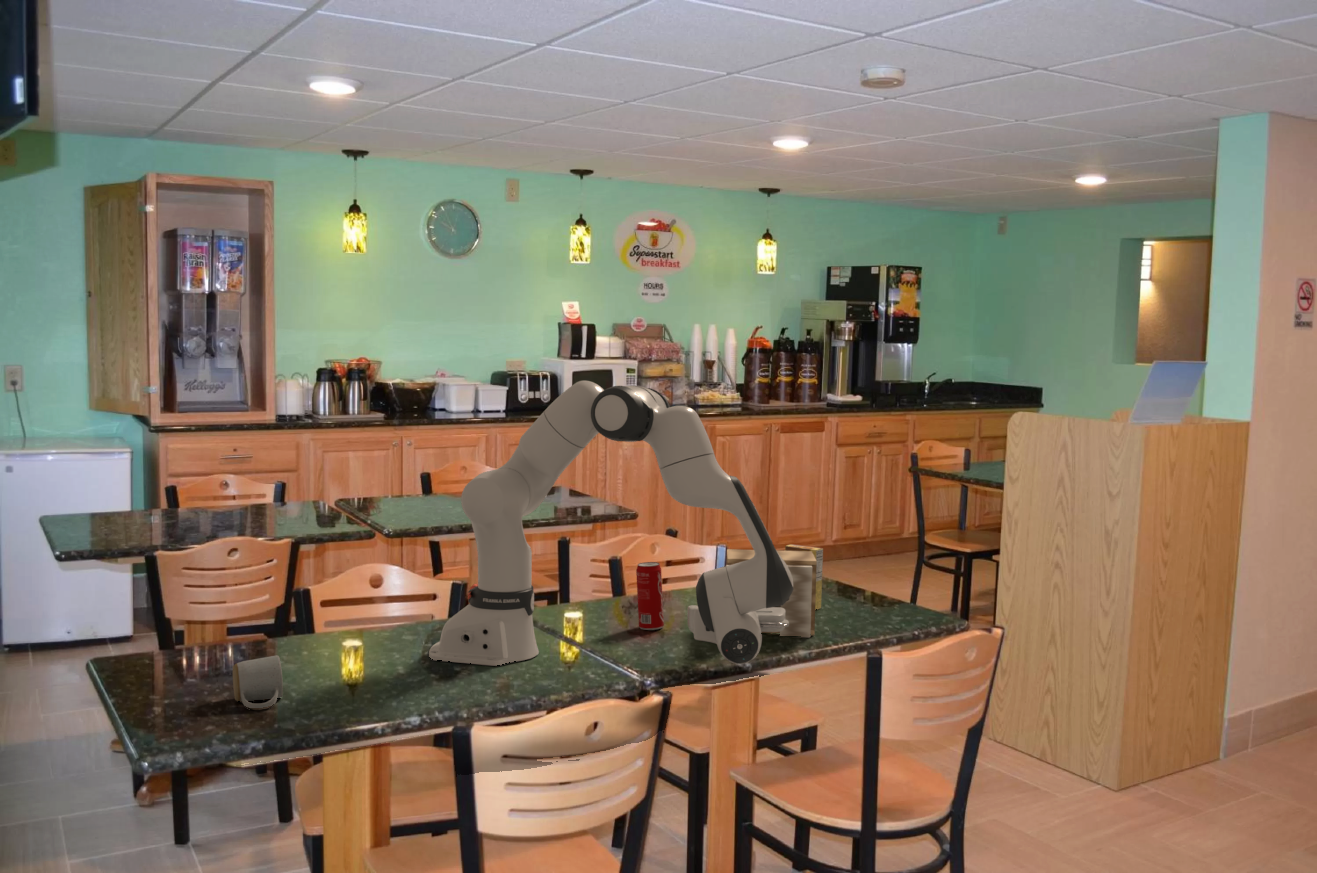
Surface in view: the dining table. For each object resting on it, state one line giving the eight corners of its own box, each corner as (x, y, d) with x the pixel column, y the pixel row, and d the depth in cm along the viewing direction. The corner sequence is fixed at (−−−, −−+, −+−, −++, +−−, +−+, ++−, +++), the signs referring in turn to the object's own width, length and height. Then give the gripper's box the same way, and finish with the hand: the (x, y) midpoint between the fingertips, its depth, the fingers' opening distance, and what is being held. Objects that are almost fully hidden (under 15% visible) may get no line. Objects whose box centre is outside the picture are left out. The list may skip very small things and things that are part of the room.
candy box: (782, 606, 281) (784, 545, 280) (790, 603, 284) (792, 543, 283) (814, 611, 276) (816, 549, 275) (822, 608, 279) (823, 547, 278)
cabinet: (716, 643, 244) (717, 567, 243) (715, 619, 266) (717, 548, 264) (818, 646, 243) (820, 569, 242) (809, 622, 265) (811, 551, 263)
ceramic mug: (231, 696, 203) (231, 655, 202) (278, 691, 206) (278, 650, 205) (237, 715, 193) (236, 672, 192) (286, 709, 197) (286, 666, 196)
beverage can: (663, 631, 254) (664, 566, 253) (634, 630, 254) (635, 565, 253) (663, 624, 260) (665, 561, 259) (635, 624, 260) (636, 560, 259)
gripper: (790, 610, 221) (785, 595, 235) (686, 608, 222) (688, 593, 236) (789, 642, 222) (784, 624, 235) (686, 639, 223) (687, 622, 236)
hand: (735, 609), depth 236 cm, fingers open, 8 cm apart
